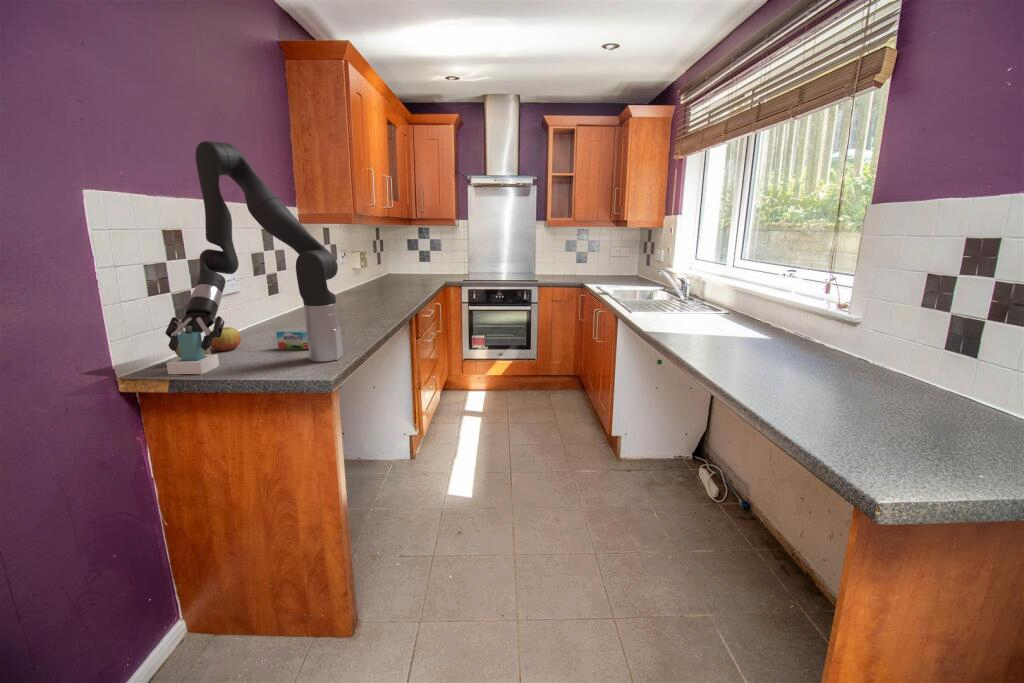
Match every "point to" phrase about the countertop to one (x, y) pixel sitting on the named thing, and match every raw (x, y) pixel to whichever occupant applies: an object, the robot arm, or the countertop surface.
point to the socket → (193, 365)
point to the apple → (226, 340)
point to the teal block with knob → (190, 345)
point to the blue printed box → (292, 340)
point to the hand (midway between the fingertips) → (188, 349)
